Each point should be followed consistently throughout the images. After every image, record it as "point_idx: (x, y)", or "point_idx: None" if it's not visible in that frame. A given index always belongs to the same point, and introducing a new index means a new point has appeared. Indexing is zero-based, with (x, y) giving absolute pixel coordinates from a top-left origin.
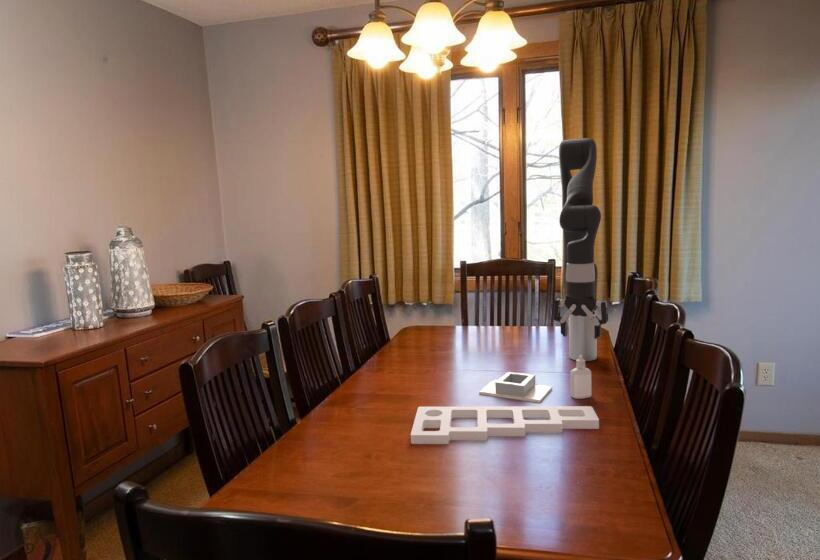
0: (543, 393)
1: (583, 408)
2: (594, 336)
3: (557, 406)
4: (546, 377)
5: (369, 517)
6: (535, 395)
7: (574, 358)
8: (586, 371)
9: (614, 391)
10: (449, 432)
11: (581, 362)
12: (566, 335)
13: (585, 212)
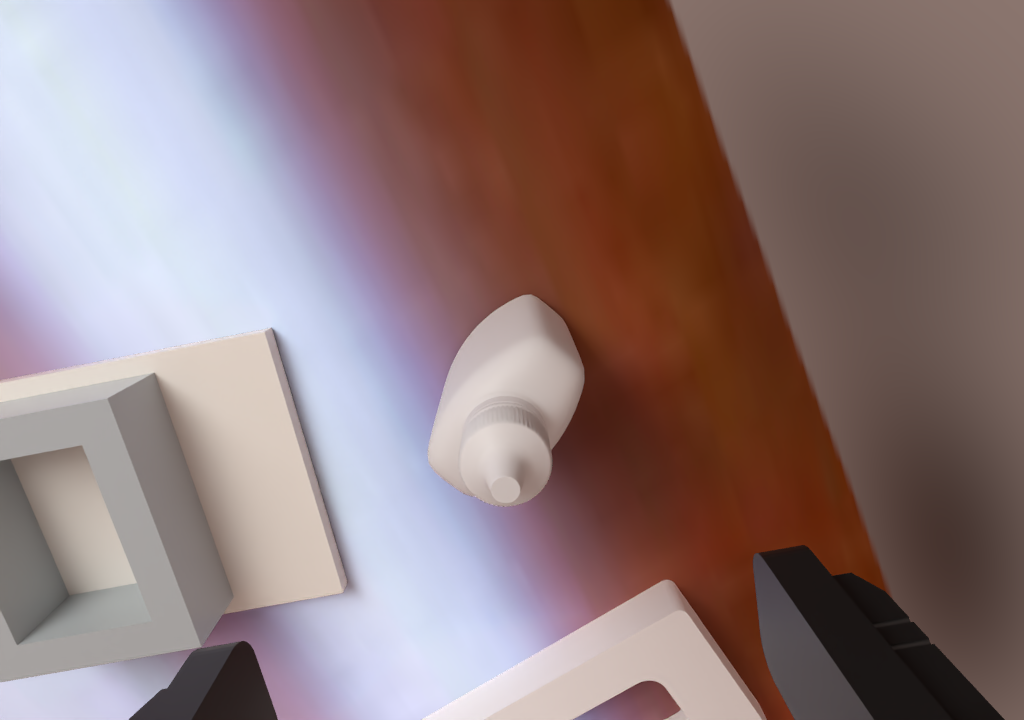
0: (296, 485)
1: (652, 656)
2: (784, 697)
3: (515, 704)
4: (76, 92)
5: None
6: (276, 542)
7: None
8: (563, 430)
9: (664, 120)
10: None
11: (531, 497)
12: (260, 683)
13: None
